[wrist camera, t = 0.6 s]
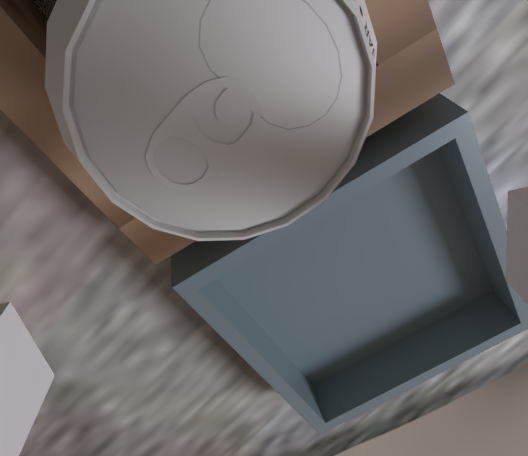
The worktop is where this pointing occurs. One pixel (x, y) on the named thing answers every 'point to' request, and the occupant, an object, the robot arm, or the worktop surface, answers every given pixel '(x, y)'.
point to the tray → (368, 274)
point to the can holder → (144, 237)
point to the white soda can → (213, 106)
